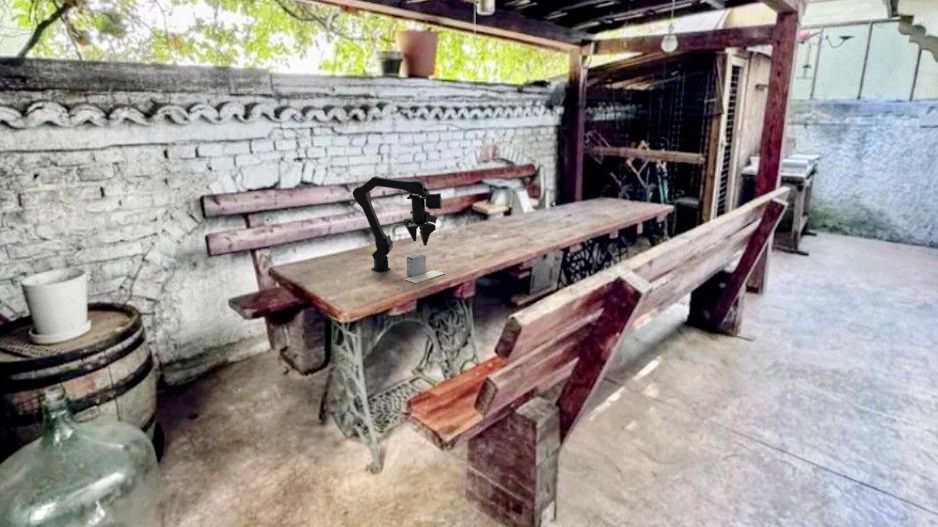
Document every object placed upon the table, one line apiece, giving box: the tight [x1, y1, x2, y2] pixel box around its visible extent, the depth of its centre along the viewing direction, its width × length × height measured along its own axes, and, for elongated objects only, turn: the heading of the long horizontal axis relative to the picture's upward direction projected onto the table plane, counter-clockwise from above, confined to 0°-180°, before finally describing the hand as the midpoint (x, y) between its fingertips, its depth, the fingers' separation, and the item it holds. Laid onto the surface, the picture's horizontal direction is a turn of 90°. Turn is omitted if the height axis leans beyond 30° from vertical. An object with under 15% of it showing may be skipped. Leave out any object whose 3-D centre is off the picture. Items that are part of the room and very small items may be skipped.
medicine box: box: [406, 253, 427, 277], centre depth 227 cm, size 8×4×9 cm, turn 141°
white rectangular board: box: [404, 269, 446, 284], centre depth 225 cm, size 6×18×1 cm, turn 139°
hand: (420, 243), depth 228 cm, fingers open, 9 cm apart
